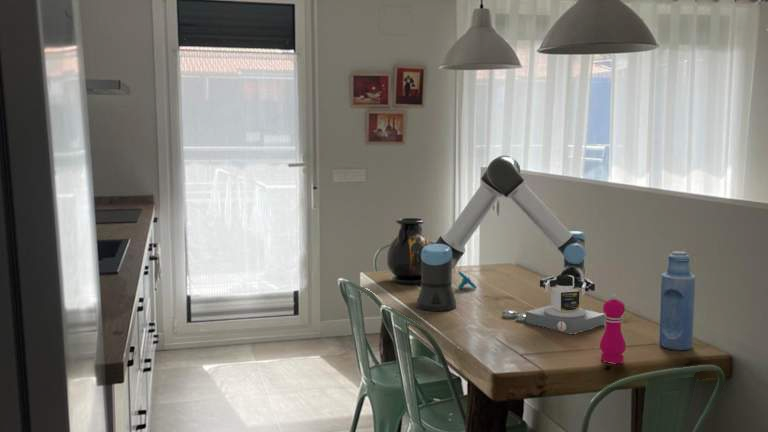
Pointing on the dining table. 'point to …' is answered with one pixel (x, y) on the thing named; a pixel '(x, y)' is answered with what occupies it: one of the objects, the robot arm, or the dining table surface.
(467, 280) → the gear
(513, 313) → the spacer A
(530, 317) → the scale
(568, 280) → the medicine bottle
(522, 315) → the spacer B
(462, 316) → the dining table surface
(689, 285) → the bottle
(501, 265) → the dining table surface
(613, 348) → the pepper mill
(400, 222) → the amphora vase
